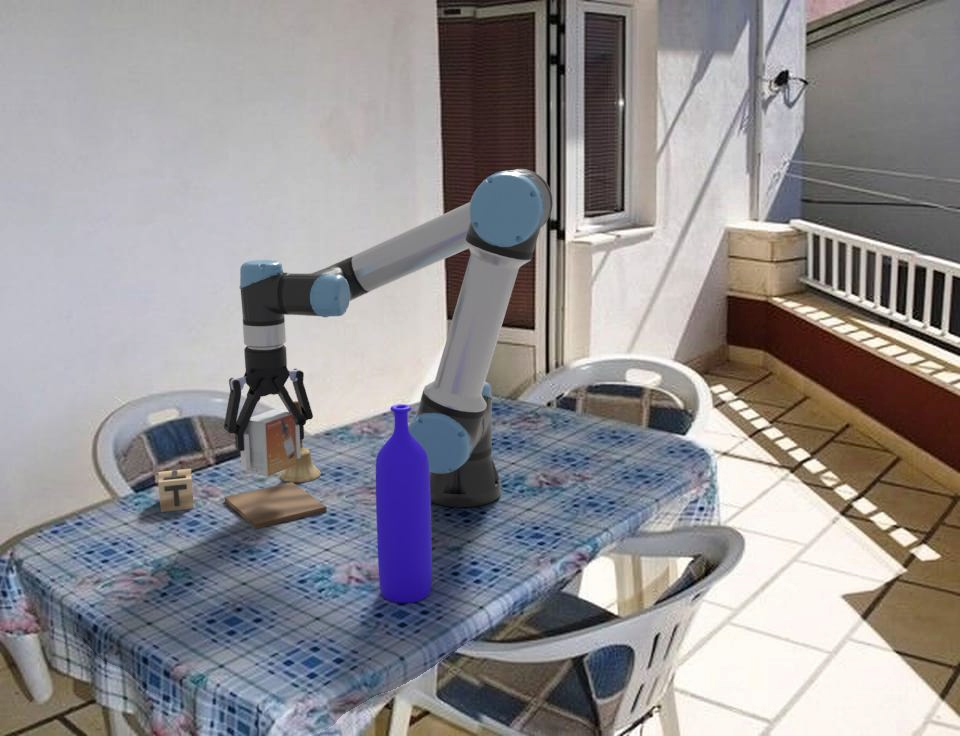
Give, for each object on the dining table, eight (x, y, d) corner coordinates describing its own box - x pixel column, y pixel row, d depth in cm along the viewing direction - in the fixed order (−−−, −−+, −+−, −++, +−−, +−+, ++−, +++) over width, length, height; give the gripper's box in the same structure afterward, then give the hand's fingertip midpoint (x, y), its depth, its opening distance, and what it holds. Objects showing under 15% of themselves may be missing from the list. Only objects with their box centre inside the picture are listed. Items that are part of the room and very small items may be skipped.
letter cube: (194, 509, 184) (191, 478, 183) (160, 512, 182) (158, 481, 181) (193, 497, 190) (190, 467, 188) (161, 501, 188) (158, 470, 187)
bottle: (425, 607, 145) (420, 415, 138) (372, 602, 147) (365, 412, 140) (438, 582, 153) (434, 400, 146) (388, 578, 155) (382, 397, 148)
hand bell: (272, 480, 199) (267, 405, 195) (294, 467, 206) (290, 395, 203) (307, 485, 196) (302, 409, 192) (328, 471, 203) (324, 398, 200)
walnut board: (326, 511, 182) (326, 506, 182) (255, 528, 174) (255, 523, 174) (292, 486, 195) (292, 482, 195) (224, 501, 187) (224, 496, 187)
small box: (267, 478, 178) (264, 423, 176) (245, 472, 181) (242, 418, 179) (297, 465, 185) (294, 412, 182) (275, 460, 188) (272, 408, 185)
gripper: (311, 334, 186) (316, 445, 192) (199, 349, 174) (207, 466, 180) (328, 341, 180) (333, 455, 186) (213, 356, 168) (221, 478, 174)
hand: (271, 461), depth 183 cm, fingers closed on small box, 9 cm apart
